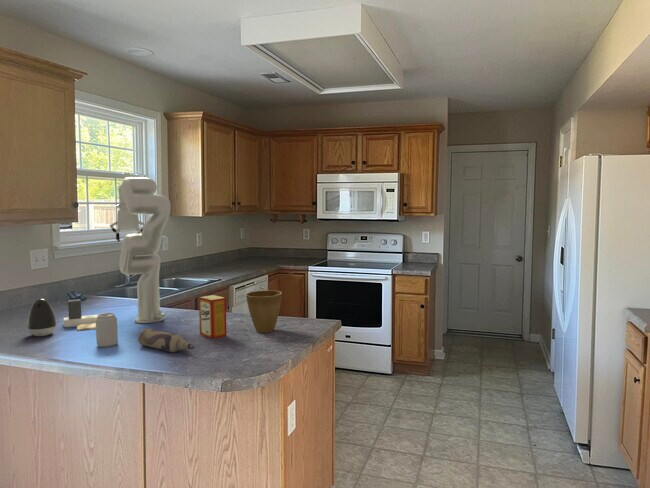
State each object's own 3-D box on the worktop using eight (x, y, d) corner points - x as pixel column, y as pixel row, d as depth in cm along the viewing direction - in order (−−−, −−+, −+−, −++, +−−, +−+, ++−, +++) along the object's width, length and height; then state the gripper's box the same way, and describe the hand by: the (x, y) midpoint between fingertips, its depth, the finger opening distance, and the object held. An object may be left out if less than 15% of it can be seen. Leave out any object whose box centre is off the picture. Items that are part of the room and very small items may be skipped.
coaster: (96, 324, 221) (96, 323, 221) (97, 328, 214) (97, 326, 214) (76, 326, 218) (76, 325, 218) (77, 330, 211) (77, 329, 211)
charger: (81, 316, 225) (80, 298, 224) (81, 318, 221) (80, 300, 220) (68, 317, 222) (68, 299, 222) (68, 319, 219) (68, 301, 218)
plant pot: (267, 324, 219) (267, 288, 218) (289, 330, 208) (288, 292, 207) (239, 330, 209) (238, 293, 207) (260, 337, 198) (260, 297, 197)
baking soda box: (200, 334, 203) (198, 296, 201) (213, 331, 207) (212, 294, 206) (212, 339, 196) (211, 299, 195) (226, 336, 200) (225, 297, 199)
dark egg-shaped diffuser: (24, 339, 198) (22, 301, 197) (32, 332, 208) (30, 297, 207) (52, 337, 201) (50, 300, 200) (59, 330, 211) (57, 295, 210)
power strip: (107, 319, 231) (107, 309, 230) (108, 322, 225) (108, 312, 225) (64, 324, 223) (63, 313, 222) (64, 327, 217) (63, 316, 217)
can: (112, 341, 194) (110, 311, 193) (121, 344, 189) (120, 313, 188) (93, 345, 188) (91, 314, 187) (102, 349, 183) (101, 317, 182)
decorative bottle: (136, 348, 185) (136, 330, 185) (153, 343, 192) (152, 326, 191) (184, 358, 171) (184, 339, 171) (200, 353, 178) (200, 335, 177)
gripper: (108, 207, 243) (109, 242, 244) (145, 207, 249) (147, 241, 250) (109, 207, 250) (110, 241, 251) (145, 207, 256) (147, 240, 257)
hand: (129, 241), depth 251 cm, fingers open, 9 cm apart
